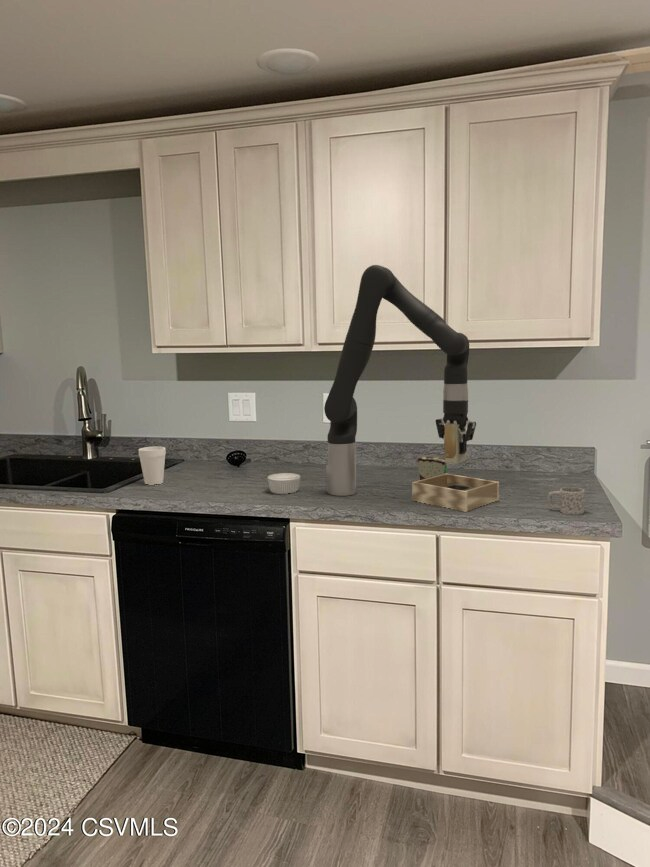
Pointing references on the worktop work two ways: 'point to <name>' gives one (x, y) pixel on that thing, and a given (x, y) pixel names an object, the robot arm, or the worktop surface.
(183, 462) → the worktop surface
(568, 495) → the mug
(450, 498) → the walled box
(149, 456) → the foam cup
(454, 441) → the skincare box
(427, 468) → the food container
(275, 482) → the ramekin
